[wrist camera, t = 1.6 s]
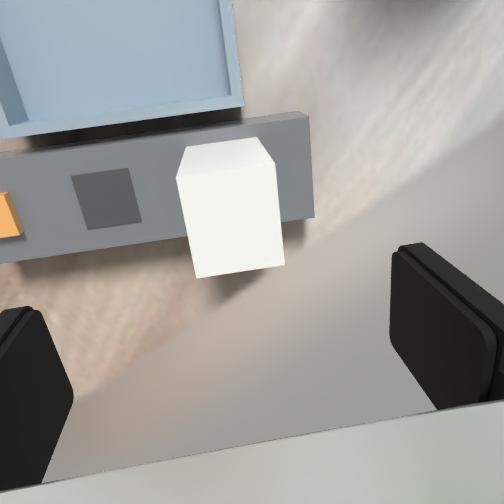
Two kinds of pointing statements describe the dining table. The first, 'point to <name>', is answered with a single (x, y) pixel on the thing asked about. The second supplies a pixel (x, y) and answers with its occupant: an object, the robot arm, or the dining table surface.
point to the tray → (113, 62)
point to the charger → (230, 207)
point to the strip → (131, 186)
